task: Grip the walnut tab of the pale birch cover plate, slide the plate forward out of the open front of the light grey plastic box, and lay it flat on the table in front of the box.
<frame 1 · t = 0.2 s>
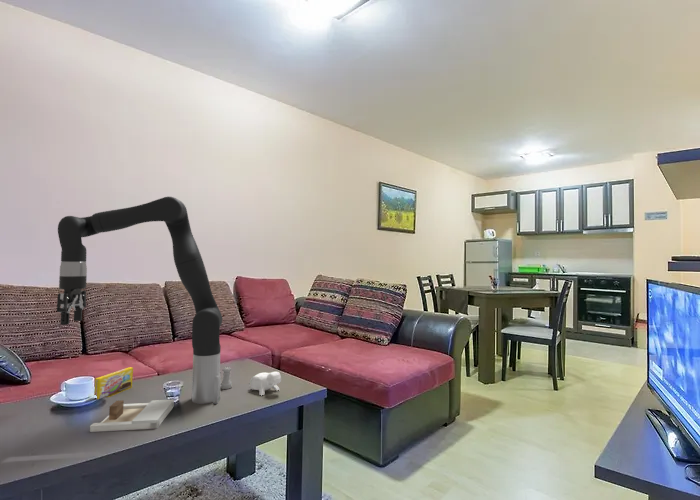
hand: (71, 322, 130), 29 cm above the table, tool pointing down, fingers open, 8 cm apart
white elephant figurine: (266, 392, 148), on the table
rook chess piece: (226, 388, 153), on the table
cover plate: (133, 418, 119), point 1 cm above the table, touching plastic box
candy box: (113, 395, 143), on the table
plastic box: (135, 421, 119), on the table
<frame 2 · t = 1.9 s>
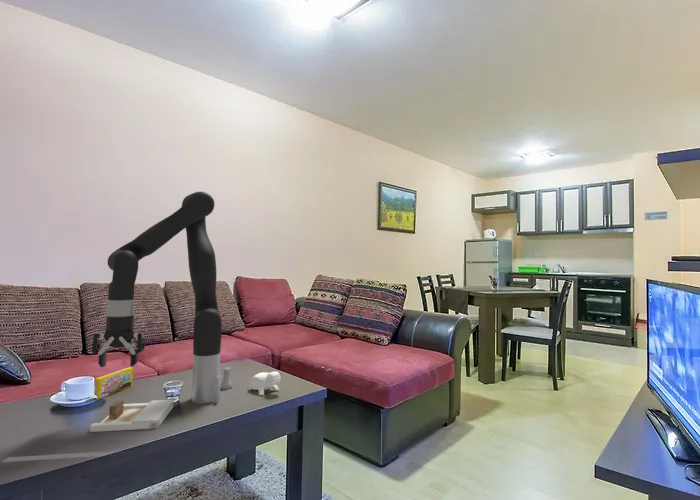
hand: (117, 366, 119), 17 cm above the table, tool pointing down, fingers open, 8 cm apart
nothing on the table moved.
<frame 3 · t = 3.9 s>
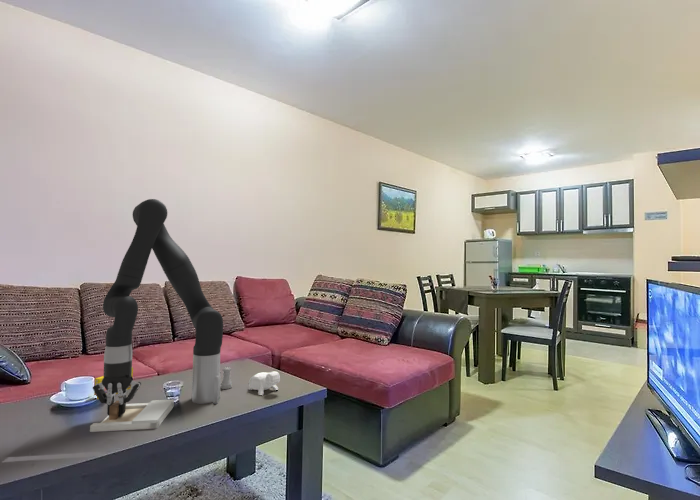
hand: (116, 415, 118), 2 cm above the table, tool pointing down, fingers closed on cover plate
cover plate: (133, 418, 119), point 1 cm above the table, touching gripper, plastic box
everything else where it was.
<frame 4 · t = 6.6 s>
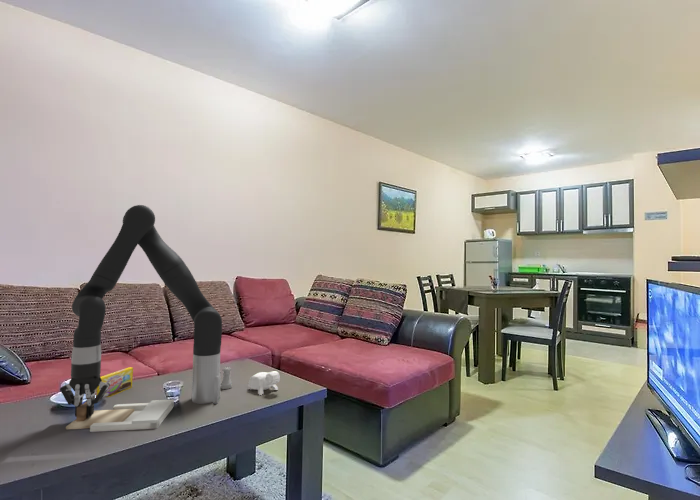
hand: (84, 417, 117), 2 cm above the table, tool pointing down, fingers closed on cover plate
cover plate: (102, 419, 117), point 1 cm above the table, touching gripper
everything else where it was.
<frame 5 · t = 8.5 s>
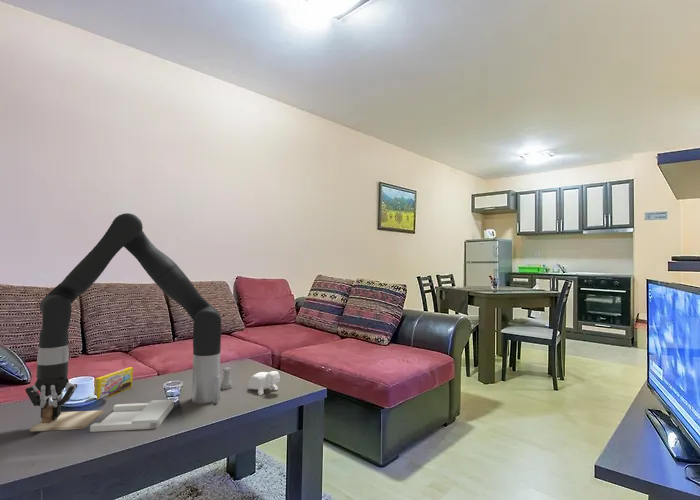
hand: (50, 418, 115), 2 cm above the table, tool pointing down, fingers closed on cover plate
cover plate: (68, 421, 116), point 1 cm above the table, touching gripper
everything else where it was.
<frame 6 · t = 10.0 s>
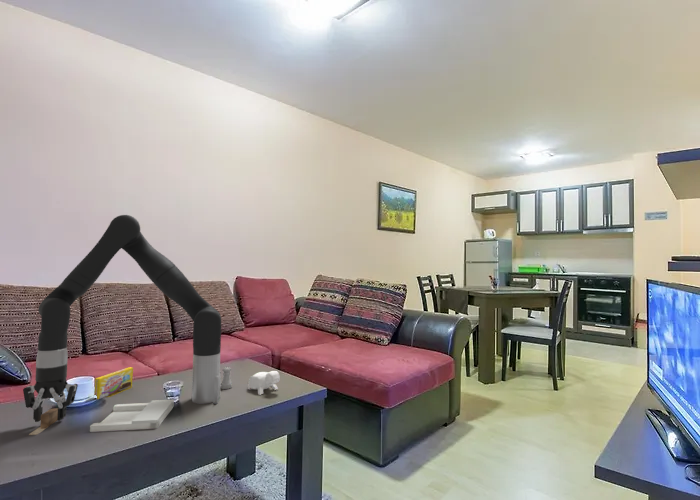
hand: (49, 420, 115), 2 cm above the table, tool pointing down, fingers open, 5 cm apart
cover plate: (67, 426, 116), on the table
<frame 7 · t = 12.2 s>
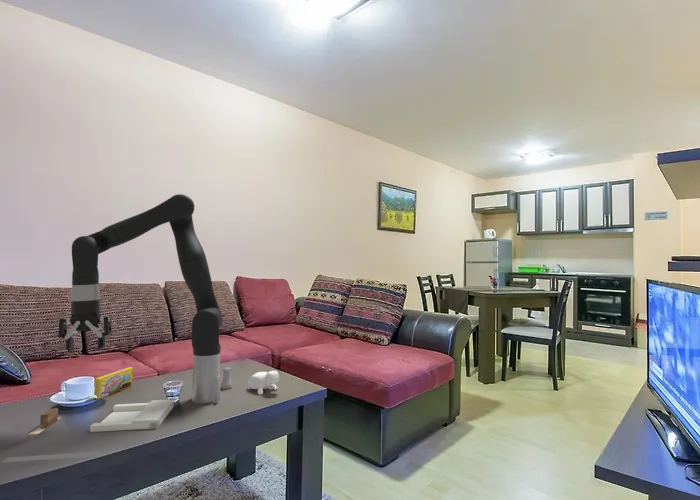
hand: (85, 349, 121), 22 cm above the table, tool pointing down, fingers open, 8 cm apart
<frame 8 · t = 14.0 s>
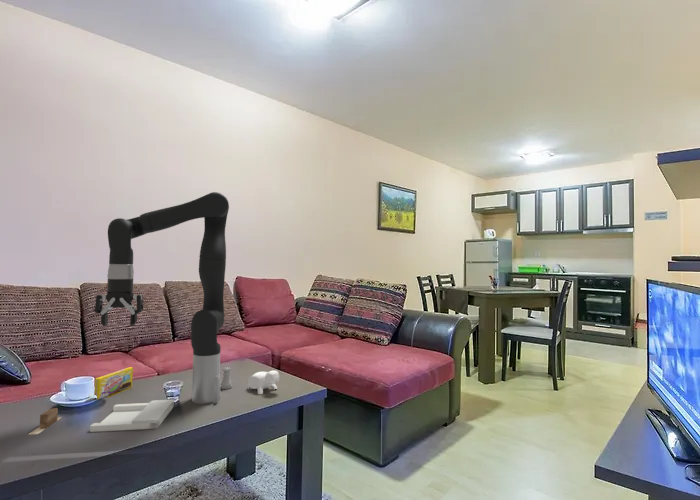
hand: (118, 325, 129), 28 cm above the table, tool pointing down, fingers open, 8 cm apart
at the end: cover plate inside the target area (0.7 cm from its centre), on the table; cover plate tilted 0°; cover plate touching table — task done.
